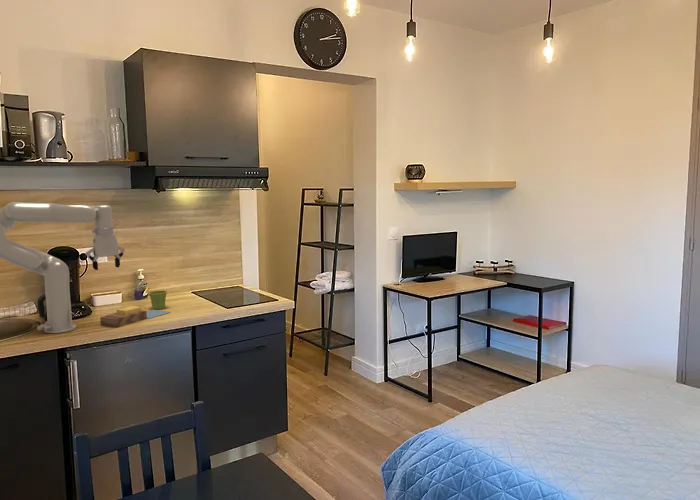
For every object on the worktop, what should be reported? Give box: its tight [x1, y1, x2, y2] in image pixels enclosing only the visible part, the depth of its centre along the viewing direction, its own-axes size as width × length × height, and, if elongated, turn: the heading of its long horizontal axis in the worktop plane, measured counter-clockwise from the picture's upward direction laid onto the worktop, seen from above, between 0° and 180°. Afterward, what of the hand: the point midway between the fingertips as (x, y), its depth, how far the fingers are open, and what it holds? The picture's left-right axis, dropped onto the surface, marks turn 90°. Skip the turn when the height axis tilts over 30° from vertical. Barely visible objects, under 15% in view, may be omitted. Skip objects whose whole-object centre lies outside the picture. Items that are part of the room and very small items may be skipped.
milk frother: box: [36, 293, 46, 319], centre depth 251 cm, size 14×16×15 cm
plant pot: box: [147, 289, 168, 310], centre depth 277 cm, size 9×9×9 cm
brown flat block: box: [99, 309, 148, 329], centre depth 250 cm, size 18×10×4 cm, turn 154°
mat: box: [146, 309, 171, 320], centre depth 265 cm, size 14×12×1 cm
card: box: [116, 305, 142, 315], centre depth 252 cm, size 9×6×2 cm, turn 154°
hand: (106, 268), depth 246 cm, fingers open, 9 cm apart
